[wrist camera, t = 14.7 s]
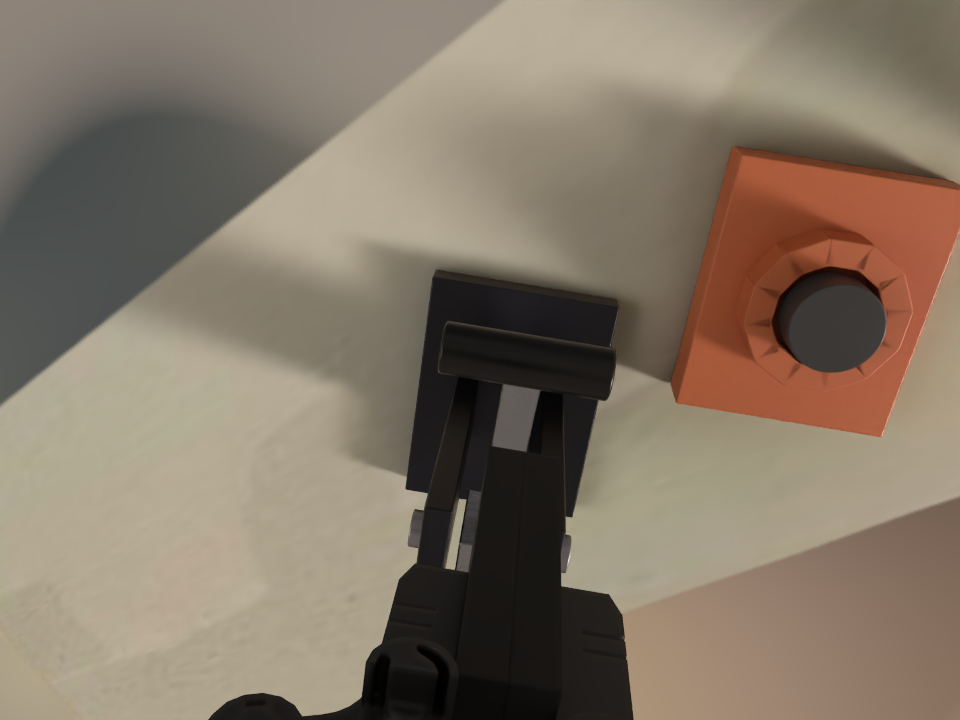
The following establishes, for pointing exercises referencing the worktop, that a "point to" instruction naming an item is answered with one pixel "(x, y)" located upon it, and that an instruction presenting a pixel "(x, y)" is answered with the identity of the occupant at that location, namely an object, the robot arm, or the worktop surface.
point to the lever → (520, 385)
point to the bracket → (494, 401)
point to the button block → (796, 256)
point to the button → (832, 322)
